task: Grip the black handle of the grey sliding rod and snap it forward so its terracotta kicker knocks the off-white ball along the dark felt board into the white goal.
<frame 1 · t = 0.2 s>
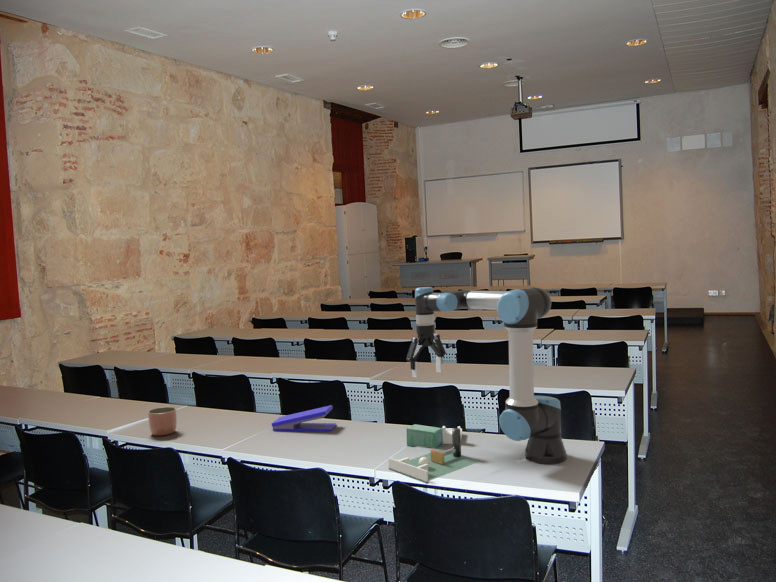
hand: (427, 374, 263), 28 cm above the table, fingers open, 13 cm apart
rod: (448, 445, 236), point 6 cm above the table, slide at 0.0 cm
stapler: (304, 429, 289), on the table
box: (425, 446, 257), on the table
pitch: (435, 466, 232), on the table
ball: (424, 462, 228), point 3 cm above the table, touching pitch
bracket: (452, 441, 261), on the table
planter: (163, 433, 290), on the table
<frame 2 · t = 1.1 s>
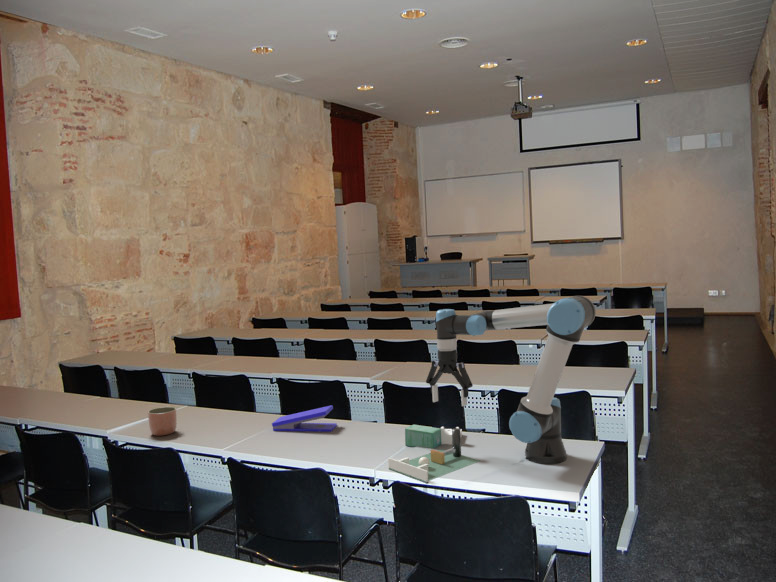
hand: (449, 403, 244), 20 cm above the table, fingers open, 13 cm apart
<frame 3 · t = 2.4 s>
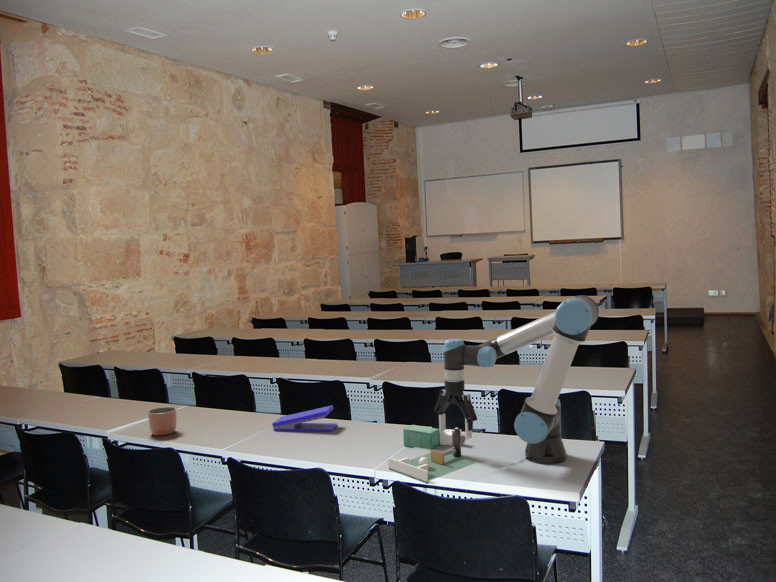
hand: (455, 434, 239), 9 cm above the table, fingers open, 13 cm apart
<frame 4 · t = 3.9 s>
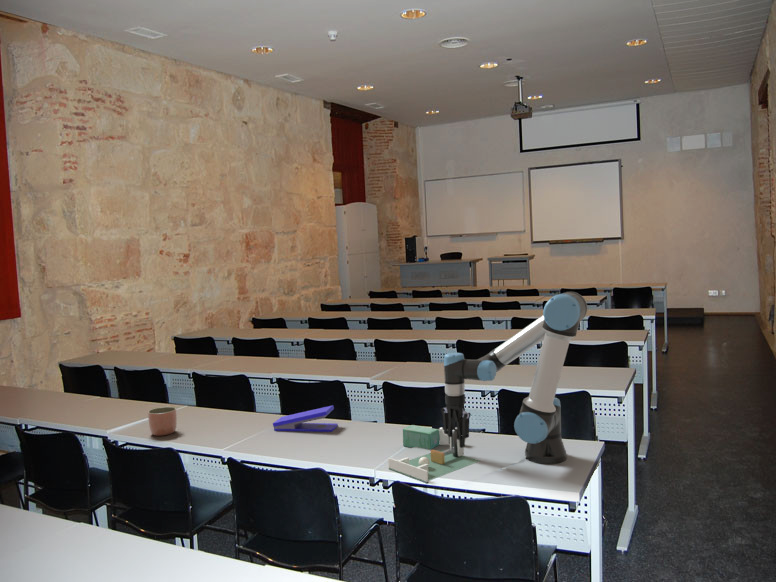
hand: (457, 454, 240), 2 cm above the table, fingers closed on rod, 3 cm apart
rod: (448, 445, 236), point 6 cm above the table, slide at 0.0 cm, touching gripper
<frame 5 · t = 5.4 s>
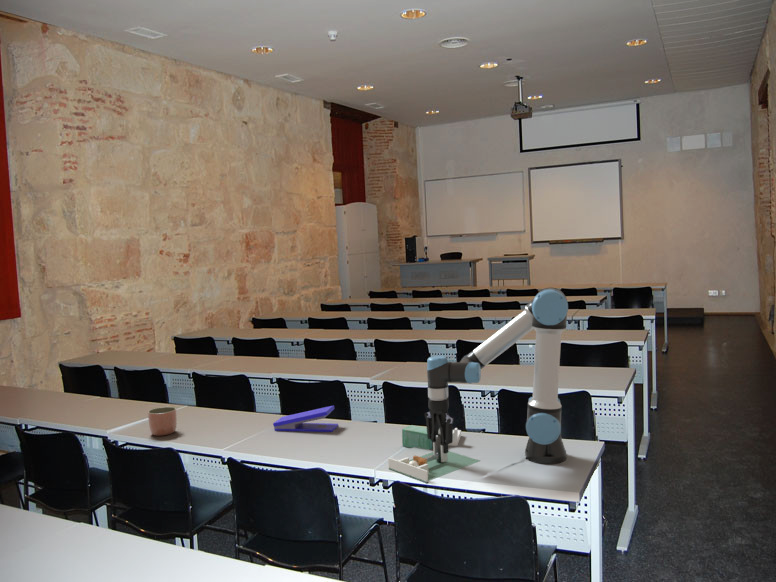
hand: (440, 459, 234), 2 cm above the table, fingers closed on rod, 3 cm apart
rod: (431, 451, 231), point 6 cm above the table, slide at 8.9 cm, touching gripper
ball: (413, 466, 225), point 3 cm above the table, tilted 140°, touching pitch
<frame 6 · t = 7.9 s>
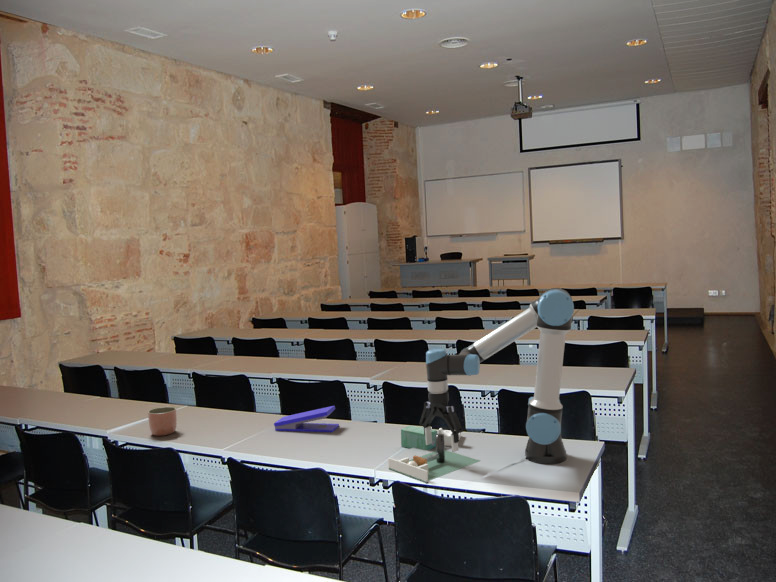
hand: (441, 447, 233), 6 cm above the table, fingers open, 13 cm apart
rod: (431, 451, 231), point 6 cm above the table, slide at 9.0 cm
ball: (412, 466, 224), point 3 cm above the table, tilted 155°, touching pitch
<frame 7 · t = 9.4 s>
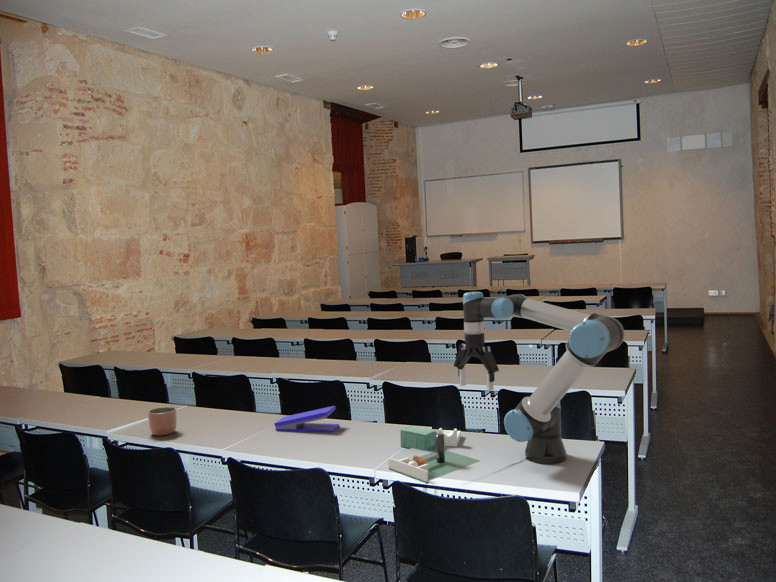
hand: (476, 387, 240), 26 cm above the table, fingers open, 13 cm apart
ball: (412, 466, 225), point 3 cm above the table, tilted 147°, touching pitch
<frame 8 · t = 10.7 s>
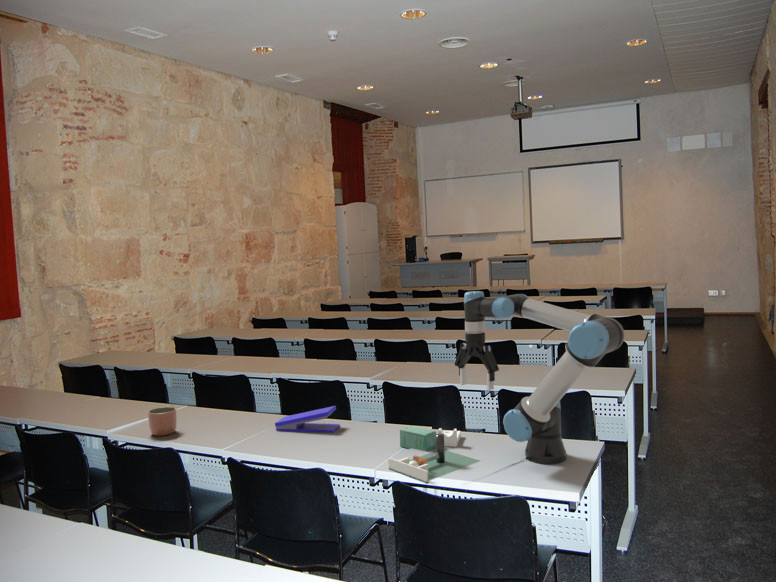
hand: (476, 387, 240), 27 cm above the table, fingers open, 13 cm apart
ball: (413, 466, 225), point 3 cm above the table, tilted 139°, touching pitch
at the end: ball inside the target area on the pitch (0.5 cm from its centre), point 2.8 cm above the pitch's base; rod slide at 9.0 cm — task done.
